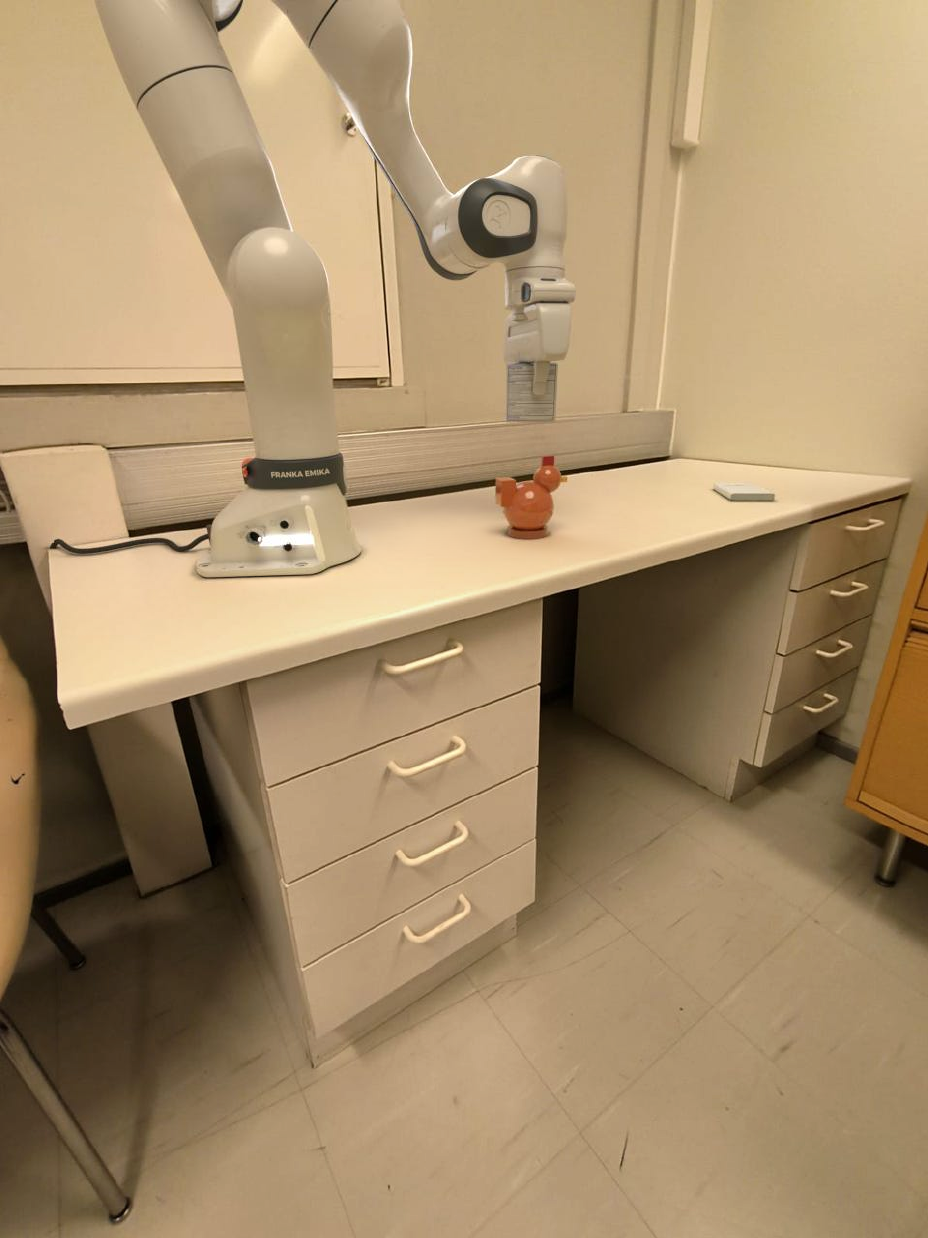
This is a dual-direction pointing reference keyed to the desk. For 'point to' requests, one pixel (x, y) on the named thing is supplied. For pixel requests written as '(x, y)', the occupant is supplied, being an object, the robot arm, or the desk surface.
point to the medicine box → (529, 395)
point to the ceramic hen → (529, 500)
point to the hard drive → (743, 492)
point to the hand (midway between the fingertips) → (531, 394)
